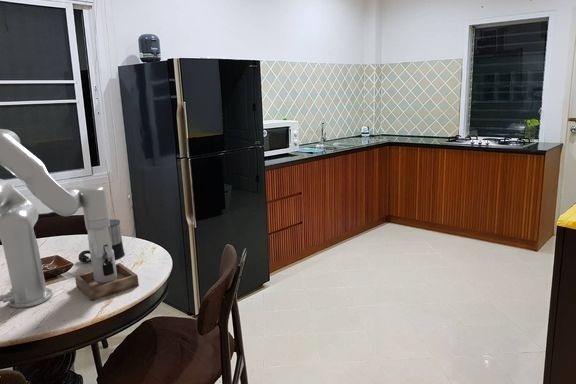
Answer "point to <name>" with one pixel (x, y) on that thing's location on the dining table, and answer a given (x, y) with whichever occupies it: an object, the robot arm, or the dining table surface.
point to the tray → (98, 291)
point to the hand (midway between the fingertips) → (104, 271)
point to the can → (98, 269)
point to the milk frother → (115, 242)
